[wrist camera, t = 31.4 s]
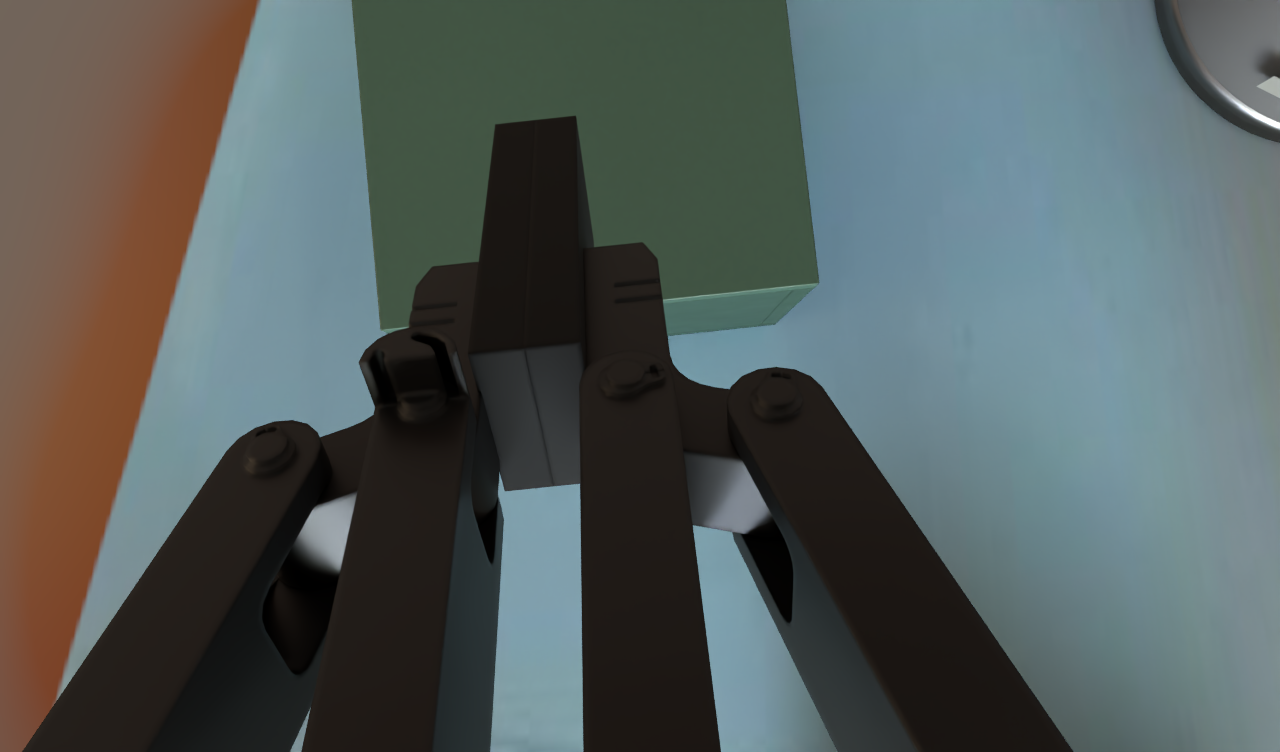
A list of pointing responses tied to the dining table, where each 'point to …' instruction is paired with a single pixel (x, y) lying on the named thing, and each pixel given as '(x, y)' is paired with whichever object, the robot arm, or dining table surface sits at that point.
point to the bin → (730, 311)
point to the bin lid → (590, 133)
